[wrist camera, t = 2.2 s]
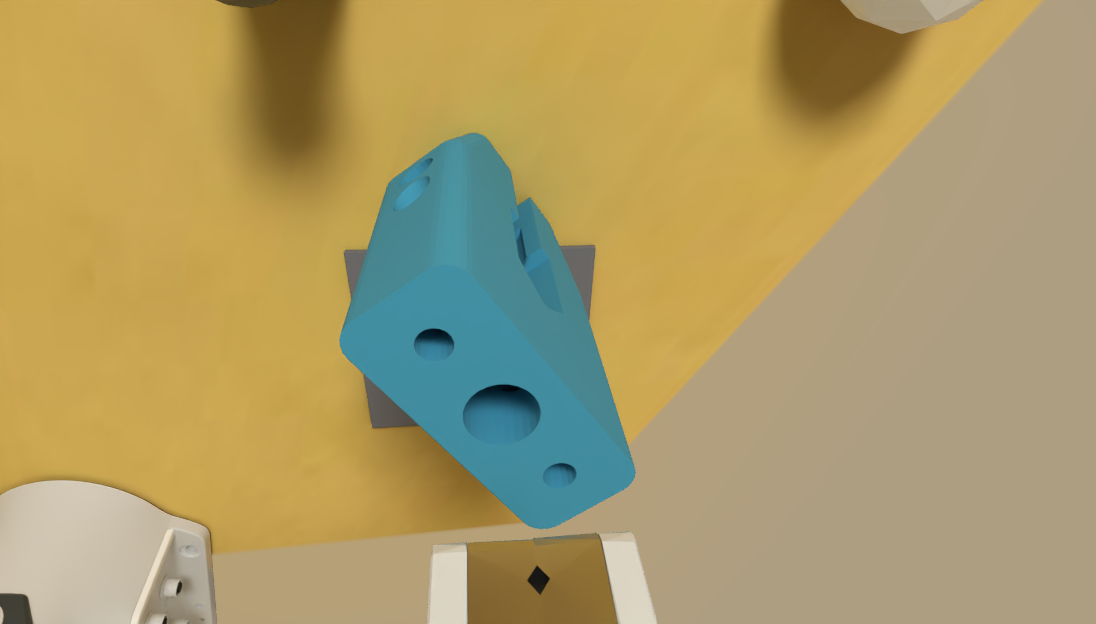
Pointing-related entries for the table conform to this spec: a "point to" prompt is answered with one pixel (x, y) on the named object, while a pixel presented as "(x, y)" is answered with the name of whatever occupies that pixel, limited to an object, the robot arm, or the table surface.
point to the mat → (385, 408)
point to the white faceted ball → (909, 12)
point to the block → (487, 336)
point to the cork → (247, 2)
